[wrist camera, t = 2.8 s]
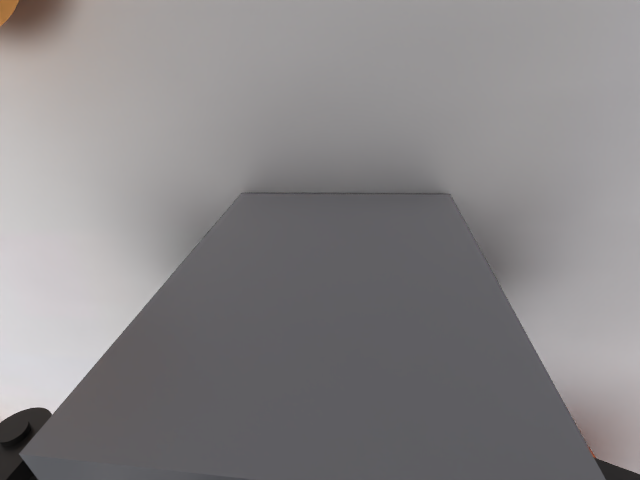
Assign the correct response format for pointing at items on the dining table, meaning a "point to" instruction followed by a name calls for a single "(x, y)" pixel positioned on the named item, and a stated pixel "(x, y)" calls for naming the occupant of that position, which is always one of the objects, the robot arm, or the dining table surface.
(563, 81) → the dining table surface
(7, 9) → the ball
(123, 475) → the gray cube
